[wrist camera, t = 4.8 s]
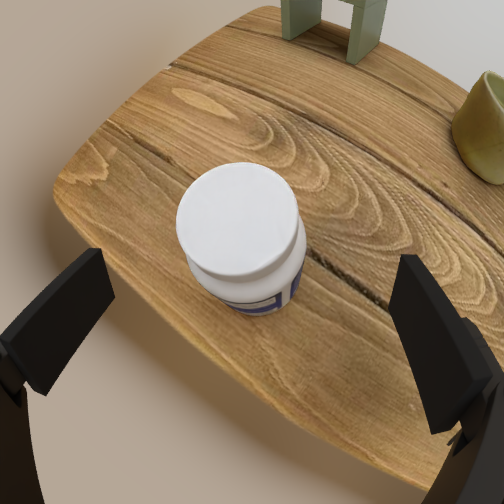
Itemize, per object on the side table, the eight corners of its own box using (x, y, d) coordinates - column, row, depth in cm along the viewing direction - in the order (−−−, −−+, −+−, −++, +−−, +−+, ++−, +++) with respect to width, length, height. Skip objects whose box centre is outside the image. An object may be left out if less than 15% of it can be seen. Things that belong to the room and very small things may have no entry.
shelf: (282, 38, 29) (278, -22, 20) (313, 19, 30) (314, -33, 22) (354, 65, 26) (365, -1, 17) (378, 44, 28) (389, -12, 19)
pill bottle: (256, 221, 21) (238, 129, 12) (316, 273, 20) (346, 208, 10) (199, 277, 20) (136, 220, 11) (257, 335, 19) (234, 325, 9)
